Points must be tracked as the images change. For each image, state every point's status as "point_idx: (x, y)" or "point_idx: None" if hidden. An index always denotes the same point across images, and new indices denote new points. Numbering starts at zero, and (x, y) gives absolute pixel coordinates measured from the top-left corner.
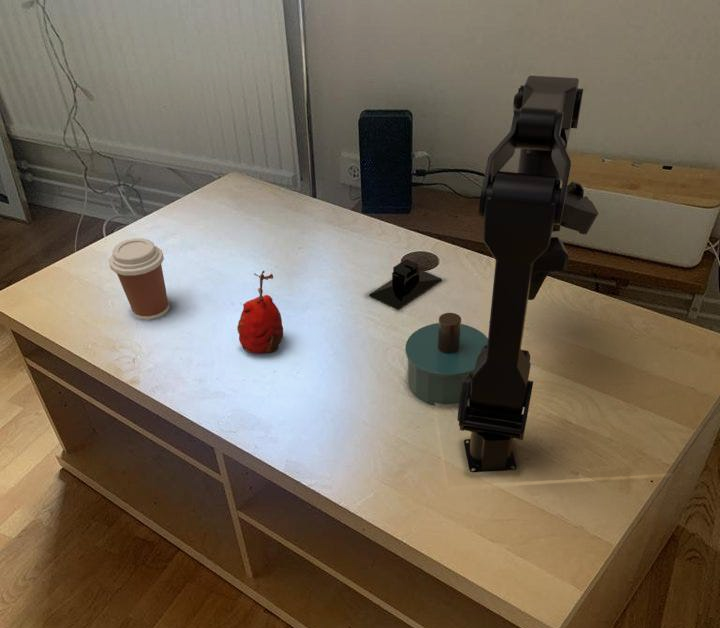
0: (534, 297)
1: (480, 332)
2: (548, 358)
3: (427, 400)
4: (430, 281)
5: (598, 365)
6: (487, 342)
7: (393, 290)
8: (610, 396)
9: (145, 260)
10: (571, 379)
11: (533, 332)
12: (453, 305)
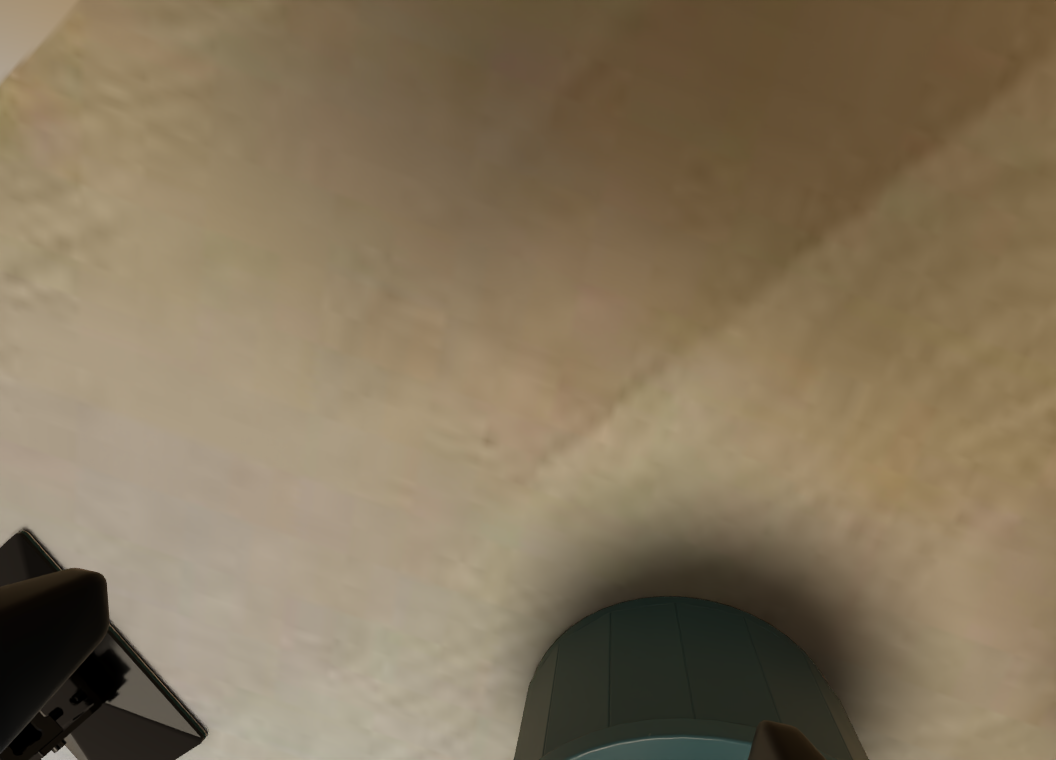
0: (814, 754)
1: (616, 749)
2: (636, 275)
3: None
4: None
5: (765, 28)
6: (726, 753)
7: (96, 731)
8: (1050, 56)
9: None
10: (832, 220)
11: (423, 276)
12: (191, 541)
